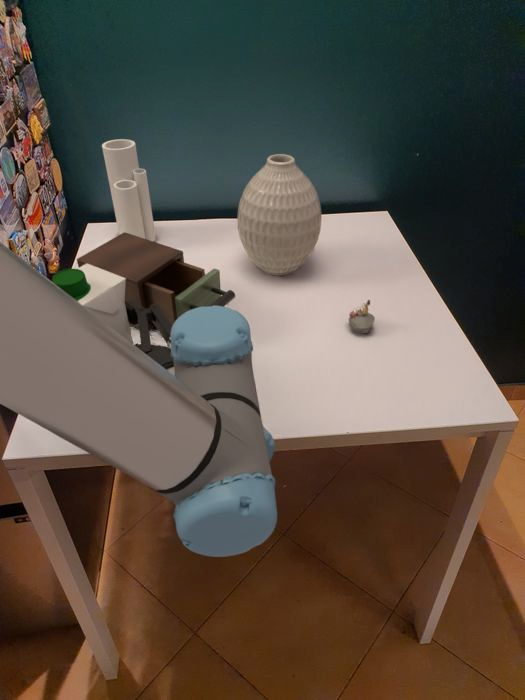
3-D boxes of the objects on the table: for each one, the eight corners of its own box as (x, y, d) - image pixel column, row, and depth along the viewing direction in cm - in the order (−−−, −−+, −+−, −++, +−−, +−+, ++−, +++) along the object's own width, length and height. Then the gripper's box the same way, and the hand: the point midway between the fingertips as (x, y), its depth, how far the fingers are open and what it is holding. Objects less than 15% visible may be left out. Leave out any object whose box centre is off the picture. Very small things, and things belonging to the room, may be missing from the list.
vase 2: (258, 295, 98) (257, 181, 84) (227, 256, 110) (222, 150, 96) (332, 277, 103) (343, 166, 89) (295, 242, 115) (300, 139, 101)
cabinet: (188, 299, 97) (183, 251, 91) (146, 332, 90) (137, 281, 83) (133, 279, 103) (124, 231, 96) (89, 308, 95) (76, 259, 88)
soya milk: (68, 388, 79) (30, 275, 66) (111, 355, 85) (84, 246, 72) (109, 410, 75) (78, 295, 62) (151, 375, 81) (130, 263, 68)
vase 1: (115, 231, 119) (98, 142, 106) (146, 225, 121) (132, 137, 108) (129, 253, 111) (111, 159, 98) (161, 246, 113) (148, 153, 100)
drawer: (242, 317, 91) (240, 276, 86) (206, 350, 84) (202, 308, 79) (167, 290, 98) (162, 250, 93) (128, 318, 91) (120, 277, 86)
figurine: (370, 339, 88) (375, 310, 84) (344, 334, 89) (348, 305, 85) (375, 321, 92) (380, 293, 88) (350, 317, 93) (354, 289, 89)
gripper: (93, 459, 59) (14, 364, 72) (238, 371, 71) (148, 303, 83) (78, 414, 54) (-4, 321, 67) (237, 328, 66) (141, 262, 79)
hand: (80, 311), depth 75 cm, fingers closed on soya milk, 9 cm apart
